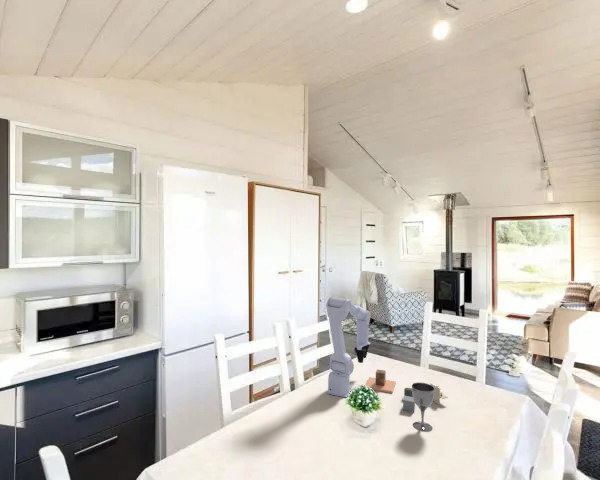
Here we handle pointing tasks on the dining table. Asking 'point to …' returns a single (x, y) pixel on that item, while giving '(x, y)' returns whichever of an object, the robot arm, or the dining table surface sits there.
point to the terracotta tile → (386, 388)
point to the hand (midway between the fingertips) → (362, 360)
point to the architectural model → (437, 394)
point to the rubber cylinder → (408, 392)
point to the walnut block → (380, 377)
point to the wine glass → (422, 403)
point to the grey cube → (408, 404)
